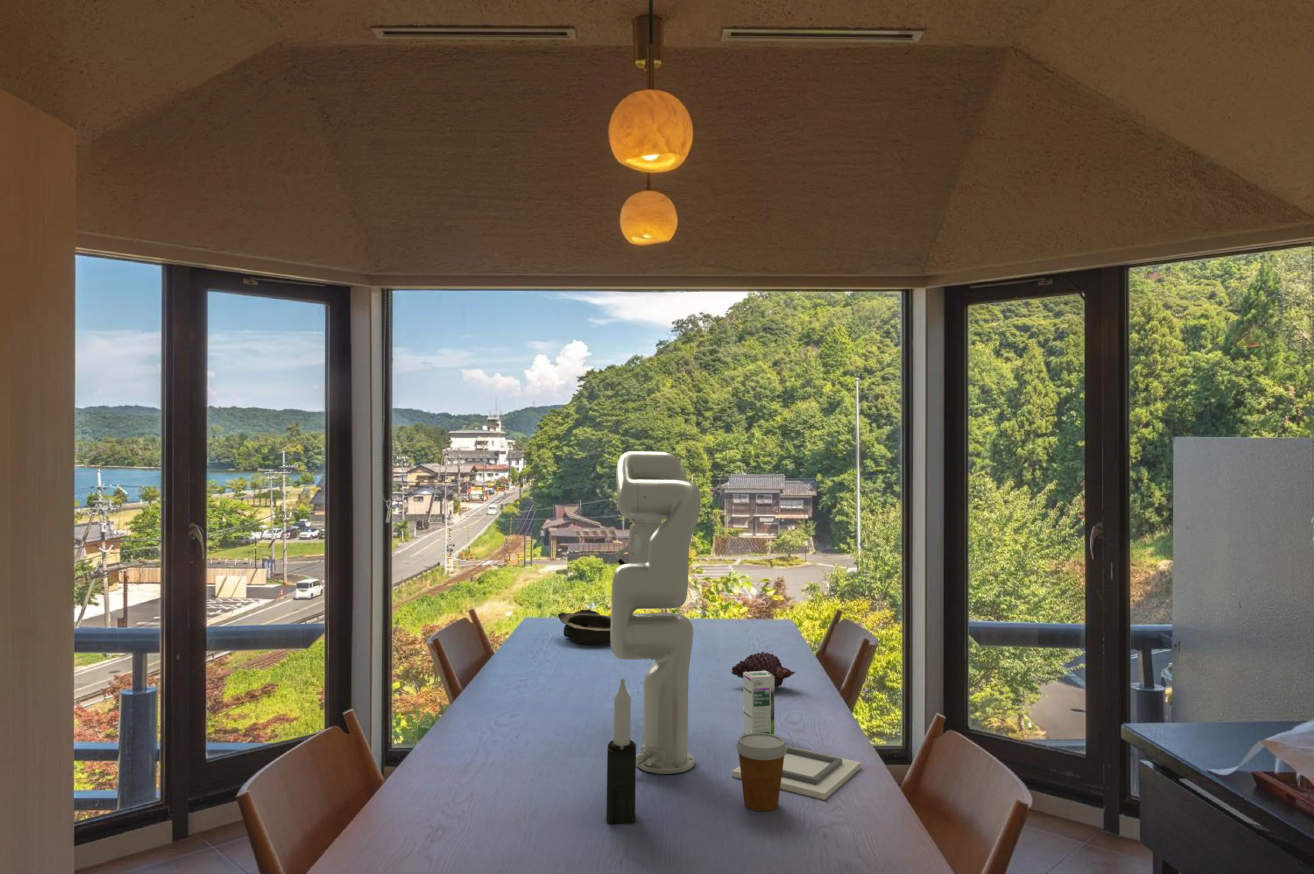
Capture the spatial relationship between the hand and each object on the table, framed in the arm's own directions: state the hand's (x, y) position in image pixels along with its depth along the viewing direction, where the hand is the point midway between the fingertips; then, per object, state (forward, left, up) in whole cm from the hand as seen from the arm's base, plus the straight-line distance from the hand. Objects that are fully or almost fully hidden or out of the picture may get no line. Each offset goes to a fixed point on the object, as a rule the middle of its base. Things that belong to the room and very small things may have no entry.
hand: (646, 584), depth 223 cm
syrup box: (-6, -36, -31) cm, 48 cm away
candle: (-61, -36, -31) cm, 78 cm away
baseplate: (-22, -53, -31) cm, 66 cm away
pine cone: (+31, -19, -31) cm, 48 cm away
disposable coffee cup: (-41, -54, -31) cm, 75 cm away
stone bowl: (+51, +57, -31) cm, 82 cm away
